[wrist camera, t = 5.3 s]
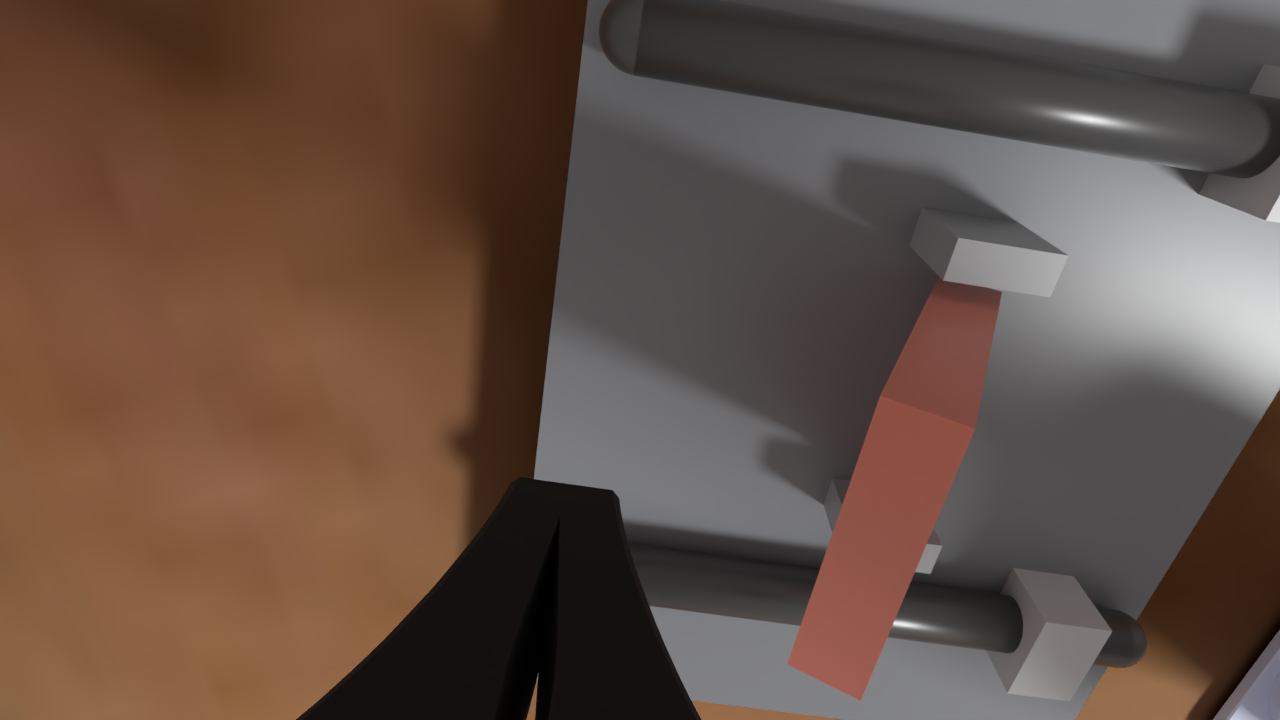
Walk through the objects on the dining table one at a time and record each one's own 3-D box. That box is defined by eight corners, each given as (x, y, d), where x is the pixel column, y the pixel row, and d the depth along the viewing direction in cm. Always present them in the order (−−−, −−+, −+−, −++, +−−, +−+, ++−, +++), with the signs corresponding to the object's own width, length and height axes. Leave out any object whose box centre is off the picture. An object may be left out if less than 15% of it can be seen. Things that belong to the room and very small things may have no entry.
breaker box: (1487, -129, 14) (1777, -170, 10) (1027, 688, 24) (1094, 814, 20) (630, -297, 13) (620, -403, 9) (522, 623, 23) (497, 742, 19)
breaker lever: (1001, 291, 15) (975, 428, 9) (920, 495, 17) (860, 700, 12) (940, 273, 15) (880, 395, 10) (867, 475, 17) (786, 664, 12)
